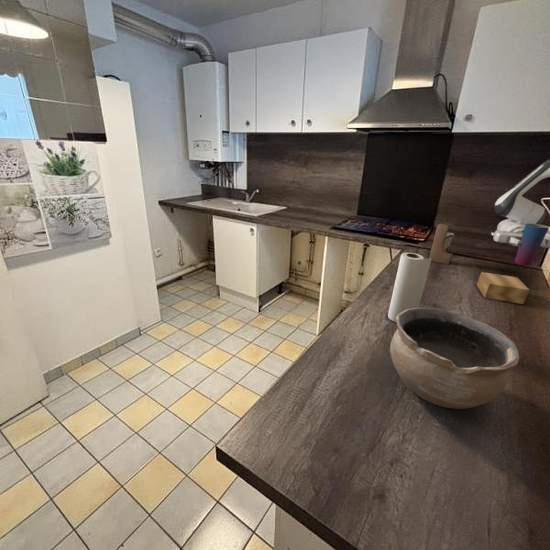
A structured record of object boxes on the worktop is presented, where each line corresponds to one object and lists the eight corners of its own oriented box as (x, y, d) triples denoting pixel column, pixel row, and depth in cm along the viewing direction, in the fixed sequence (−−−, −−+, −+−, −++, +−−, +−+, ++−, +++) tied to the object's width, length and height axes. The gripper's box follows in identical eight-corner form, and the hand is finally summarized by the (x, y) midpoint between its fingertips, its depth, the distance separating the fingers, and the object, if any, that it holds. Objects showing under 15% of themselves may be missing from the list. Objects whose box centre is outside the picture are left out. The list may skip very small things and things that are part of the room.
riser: (511, 291, 114) (517, 277, 112) (523, 304, 104) (529, 289, 102) (476, 285, 118) (481, 272, 116) (484, 298, 108) (489, 283, 105)
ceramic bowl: (371, 395, 63) (383, 337, 57) (395, 345, 79) (406, 296, 73) (495, 451, 52) (527, 387, 46) (492, 379, 68) (515, 325, 62)
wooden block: (449, 262, 142) (460, 226, 135) (448, 265, 139) (459, 228, 132) (430, 258, 147) (439, 223, 140) (428, 260, 144) (437, 225, 137)
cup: (531, 262, 116) (546, 225, 110) (535, 267, 110) (551, 228, 104) (510, 258, 119) (524, 222, 113) (513, 263, 113) (527, 226, 107)
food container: (437, 248, 164) (442, 230, 160) (449, 251, 159) (454, 233, 155) (427, 252, 156) (432, 234, 152) (439, 255, 152) (444, 236, 148)
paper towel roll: (383, 317, 92) (397, 254, 84) (393, 311, 96) (407, 250, 88) (405, 327, 87) (422, 261, 79) (415, 321, 91) (431, 257, 83)
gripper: (491, 225, 125) (501, 232, 113) (550, 230, 118) (567, 239, 106) (487, 239, 127) (496, 248, 115) (544, 245, 121) (560, 255, 109)
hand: (531, 244), depth 111 cm, fingers closed on cup, 6 cm apart
